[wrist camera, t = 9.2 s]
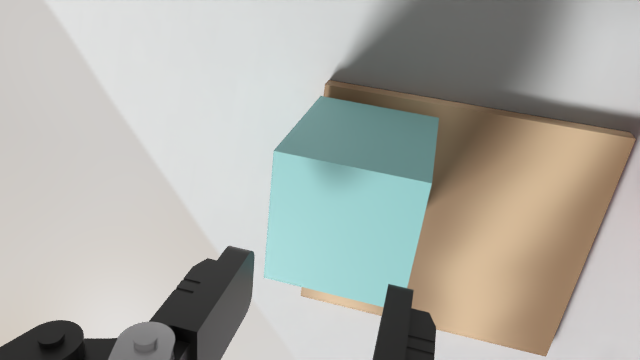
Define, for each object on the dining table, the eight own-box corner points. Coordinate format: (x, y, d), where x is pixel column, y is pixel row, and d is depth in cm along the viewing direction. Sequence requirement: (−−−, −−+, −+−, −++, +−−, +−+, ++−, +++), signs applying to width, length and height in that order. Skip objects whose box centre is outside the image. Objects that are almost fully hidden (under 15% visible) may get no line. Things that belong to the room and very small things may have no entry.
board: (630, 132, 22) (635, 138, 21) (543, 345, 27) (545, 356, 26) (329, 79, 24) (324, 84, 23) (304, 287, 29) (300, 295, 28)
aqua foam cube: (439, 117, 22) (431, 183, 16) (415, 221, 24) (401, 311, 18) (320, 95, 23) (273, 150, 17) (308, 198, 25) (263, 277, 19)
